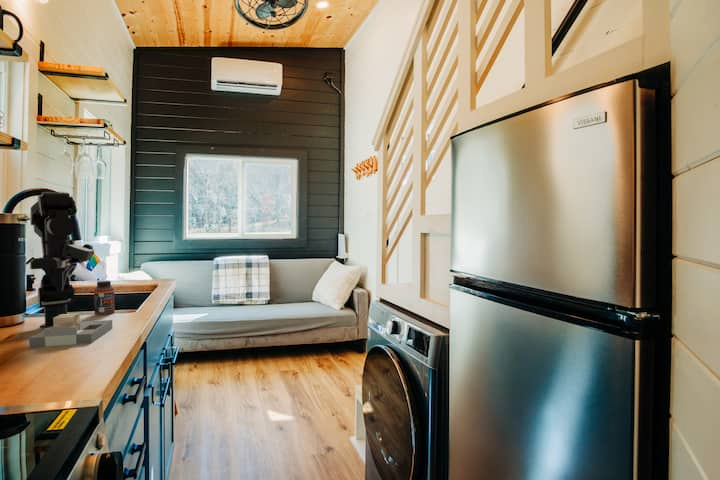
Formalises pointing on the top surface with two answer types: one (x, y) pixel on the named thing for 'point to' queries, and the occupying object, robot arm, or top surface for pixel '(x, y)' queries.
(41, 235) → the robot arm
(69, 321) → the maple block
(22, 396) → the top surface
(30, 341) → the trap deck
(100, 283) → the supplement bottle
